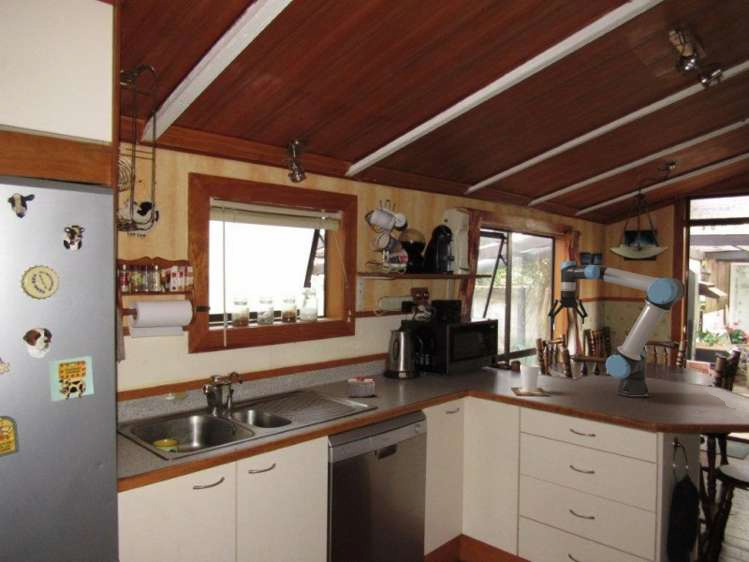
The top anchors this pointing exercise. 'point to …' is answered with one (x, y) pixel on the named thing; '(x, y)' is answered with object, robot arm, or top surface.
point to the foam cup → (529, 376)
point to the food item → (360, 387)
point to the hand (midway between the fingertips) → (567, 330)
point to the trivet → (520, 392)
